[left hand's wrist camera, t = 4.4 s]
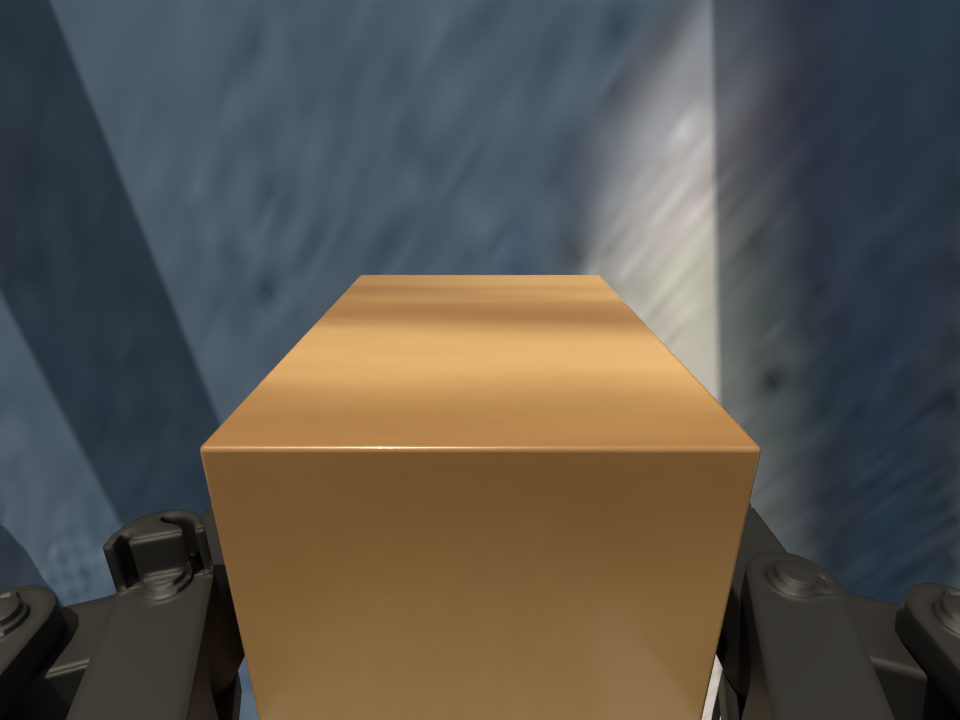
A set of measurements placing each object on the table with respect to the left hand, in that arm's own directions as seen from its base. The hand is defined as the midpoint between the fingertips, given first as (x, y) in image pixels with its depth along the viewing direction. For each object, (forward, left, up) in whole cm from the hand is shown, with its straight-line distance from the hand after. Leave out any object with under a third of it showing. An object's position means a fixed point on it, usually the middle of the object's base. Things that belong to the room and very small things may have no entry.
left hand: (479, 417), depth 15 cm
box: (+6, +4, -1) cm, 7 cm away
